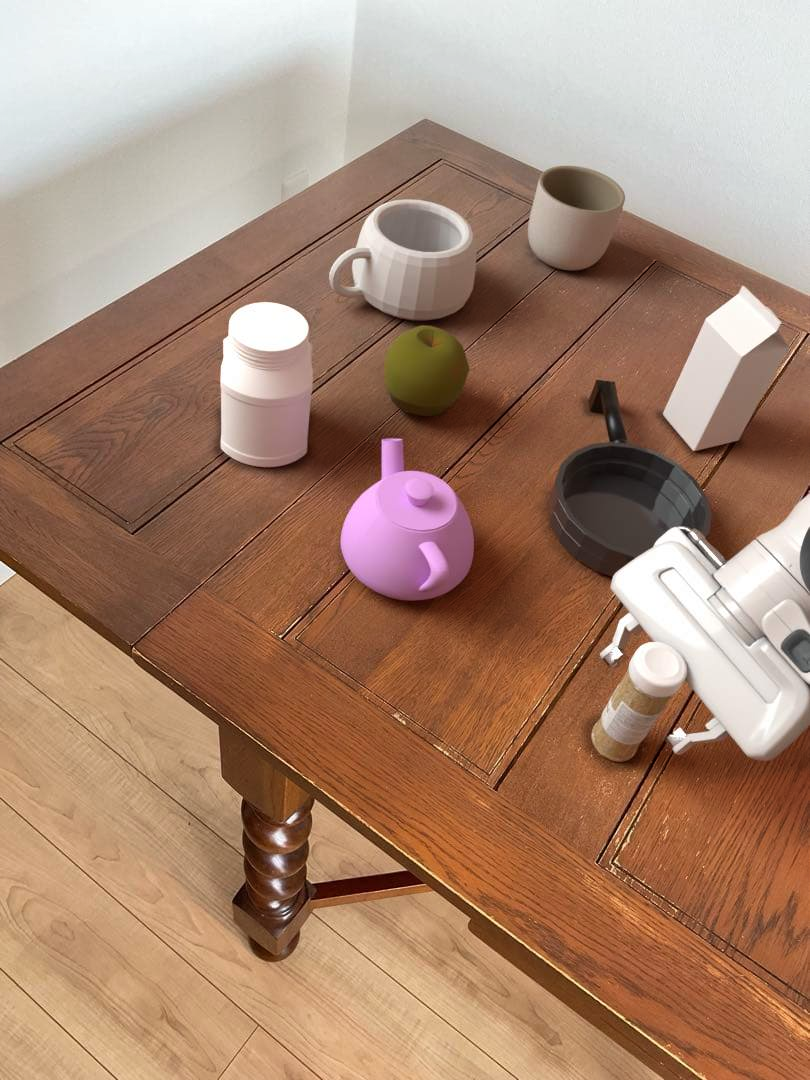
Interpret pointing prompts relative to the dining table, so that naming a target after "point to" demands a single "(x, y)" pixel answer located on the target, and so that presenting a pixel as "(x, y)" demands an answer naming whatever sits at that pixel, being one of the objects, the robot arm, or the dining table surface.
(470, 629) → the dining table surface
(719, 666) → the robot arm
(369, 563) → the teapot
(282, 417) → the jar
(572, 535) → the pan
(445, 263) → the mug
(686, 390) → the milk carton
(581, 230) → the planter
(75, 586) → the dining table surface
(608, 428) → the pan handle
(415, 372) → the apple
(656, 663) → the spice bottle
